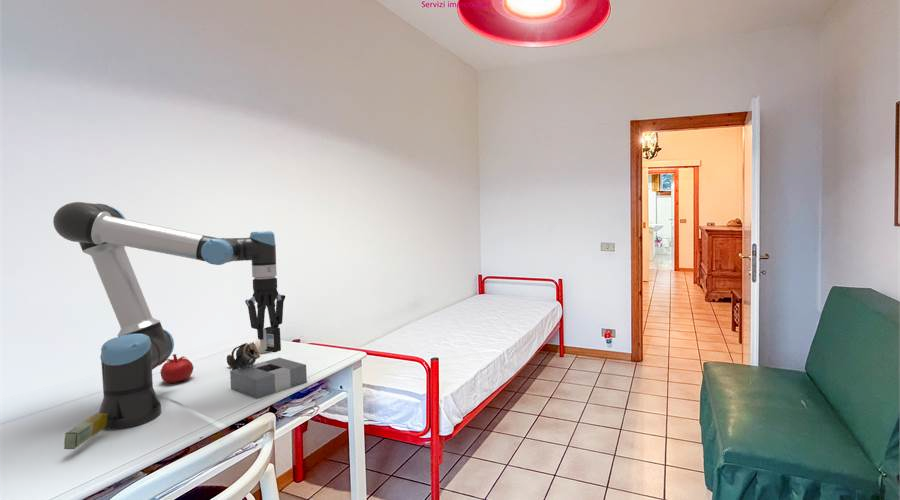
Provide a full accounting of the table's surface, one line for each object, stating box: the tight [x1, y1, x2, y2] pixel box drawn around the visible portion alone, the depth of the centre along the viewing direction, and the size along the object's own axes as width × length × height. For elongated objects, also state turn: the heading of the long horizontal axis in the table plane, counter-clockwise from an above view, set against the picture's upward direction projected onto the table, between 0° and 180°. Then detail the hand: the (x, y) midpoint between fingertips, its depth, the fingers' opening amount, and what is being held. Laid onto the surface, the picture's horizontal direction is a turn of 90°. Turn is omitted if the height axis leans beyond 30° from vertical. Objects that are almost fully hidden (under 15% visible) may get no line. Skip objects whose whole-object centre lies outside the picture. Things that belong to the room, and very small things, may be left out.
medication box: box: [63, 412, 107, 450], centre depth 115 cm, size 12×3×4 cm, turn 6°
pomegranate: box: [159, 353, 194, 384], centre depth 160 cm, size 10×10×9 cm
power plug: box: [231, 353, 257, 370], centre depth 158 cm, size 6×8×12 cm
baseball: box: [254, 339, 269, 354], centre depth 191 cm, size 7×7×7 cm
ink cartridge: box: [264, 325, 282, 353], centre depth 150 cm, size 5×2×8 cm, turn 64°
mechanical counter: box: [226, 342, 261, 368], centre depth 170 cm, size 7×13×10 cm, turn 89°
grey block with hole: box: [229, 357, 308, 400], centre depth 151 cm, size 18×16×6 cm
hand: (268, 347), depth 151 cm, fingers closed on ink cartridge, 2 cm apart
